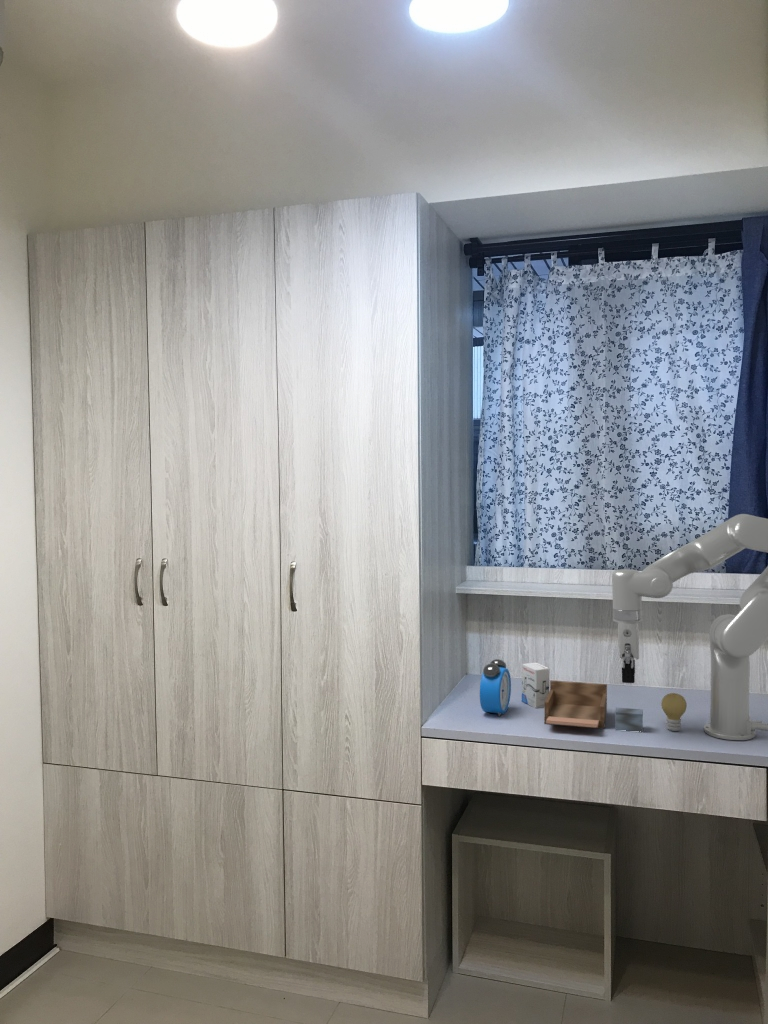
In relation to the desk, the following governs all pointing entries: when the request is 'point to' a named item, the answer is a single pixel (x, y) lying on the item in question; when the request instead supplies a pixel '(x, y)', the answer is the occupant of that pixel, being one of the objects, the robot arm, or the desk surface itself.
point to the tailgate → (572, 721)
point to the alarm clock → (495, 687)
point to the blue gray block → (629, 719)
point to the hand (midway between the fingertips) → (628, 678)
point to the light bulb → (673, 710)
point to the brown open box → (577, 701)
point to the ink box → (535, 684)
